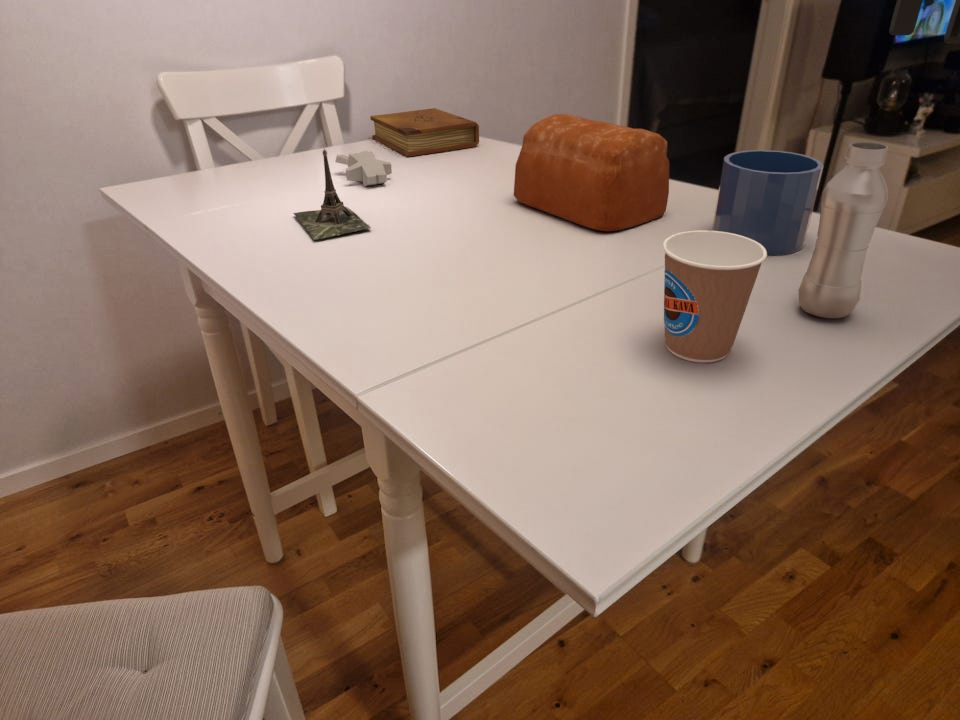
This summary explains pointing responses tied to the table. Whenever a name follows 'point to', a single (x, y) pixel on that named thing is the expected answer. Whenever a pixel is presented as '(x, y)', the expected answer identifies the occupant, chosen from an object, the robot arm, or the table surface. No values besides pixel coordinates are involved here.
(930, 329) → the table surface
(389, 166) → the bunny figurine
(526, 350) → the table surface
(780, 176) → the blue bin
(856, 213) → the plastic bottle
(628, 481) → the table surface
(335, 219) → the eiffel tower figurine
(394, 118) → the diary
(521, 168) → the bread
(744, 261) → the coffee cup
